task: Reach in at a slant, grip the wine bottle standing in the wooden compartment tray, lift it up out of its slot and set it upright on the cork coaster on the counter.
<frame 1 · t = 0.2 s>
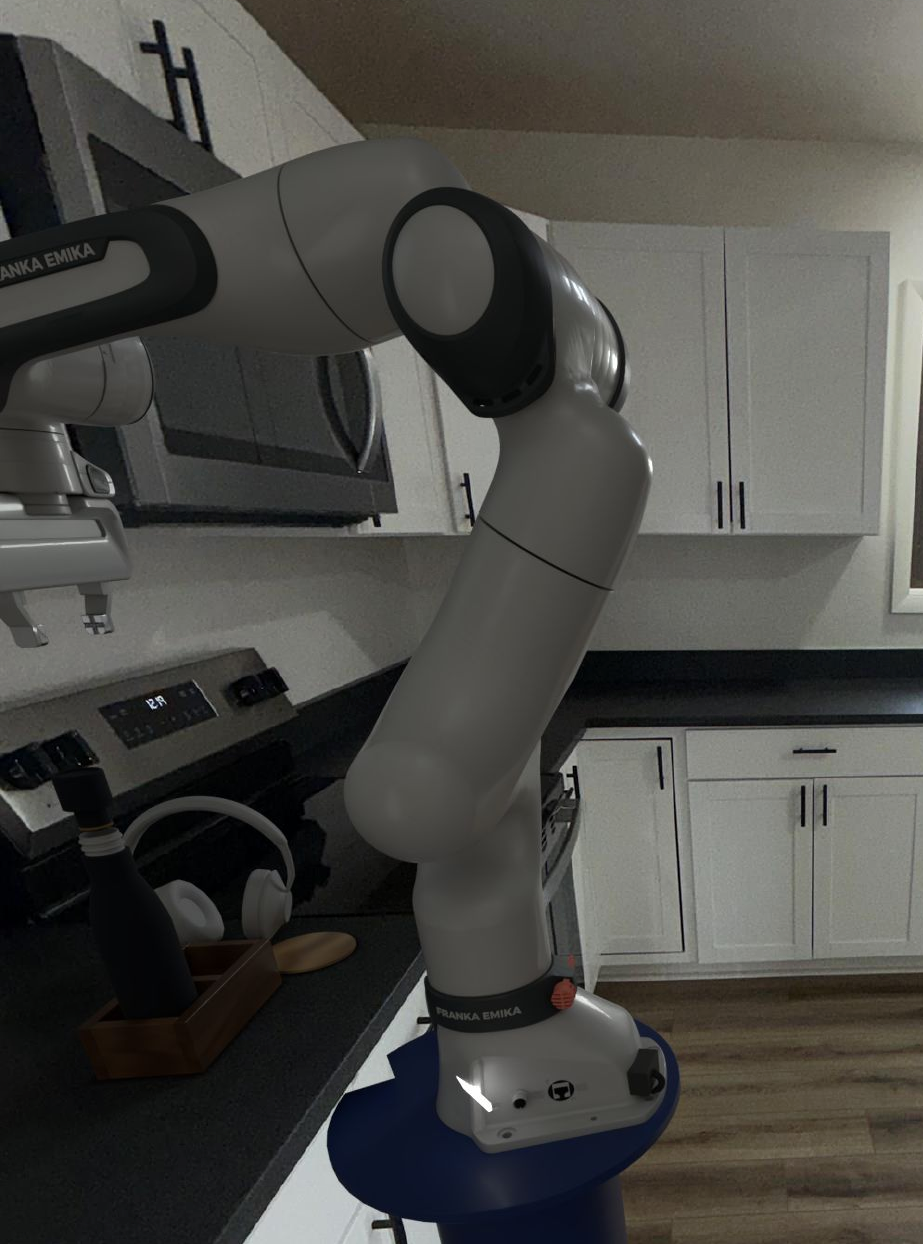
hand: (69, 640, 79), 41 cm above the counter, tool pointing down, fingers open, 8 cm apart
headphones: (233, 945, 113), on the counter
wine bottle: (177, 1050, 90), resting in wooden compartment tray
coaster: (309, 953, 110), on the counter
wooden compartment tray: (198, 1026, 94), on the counter
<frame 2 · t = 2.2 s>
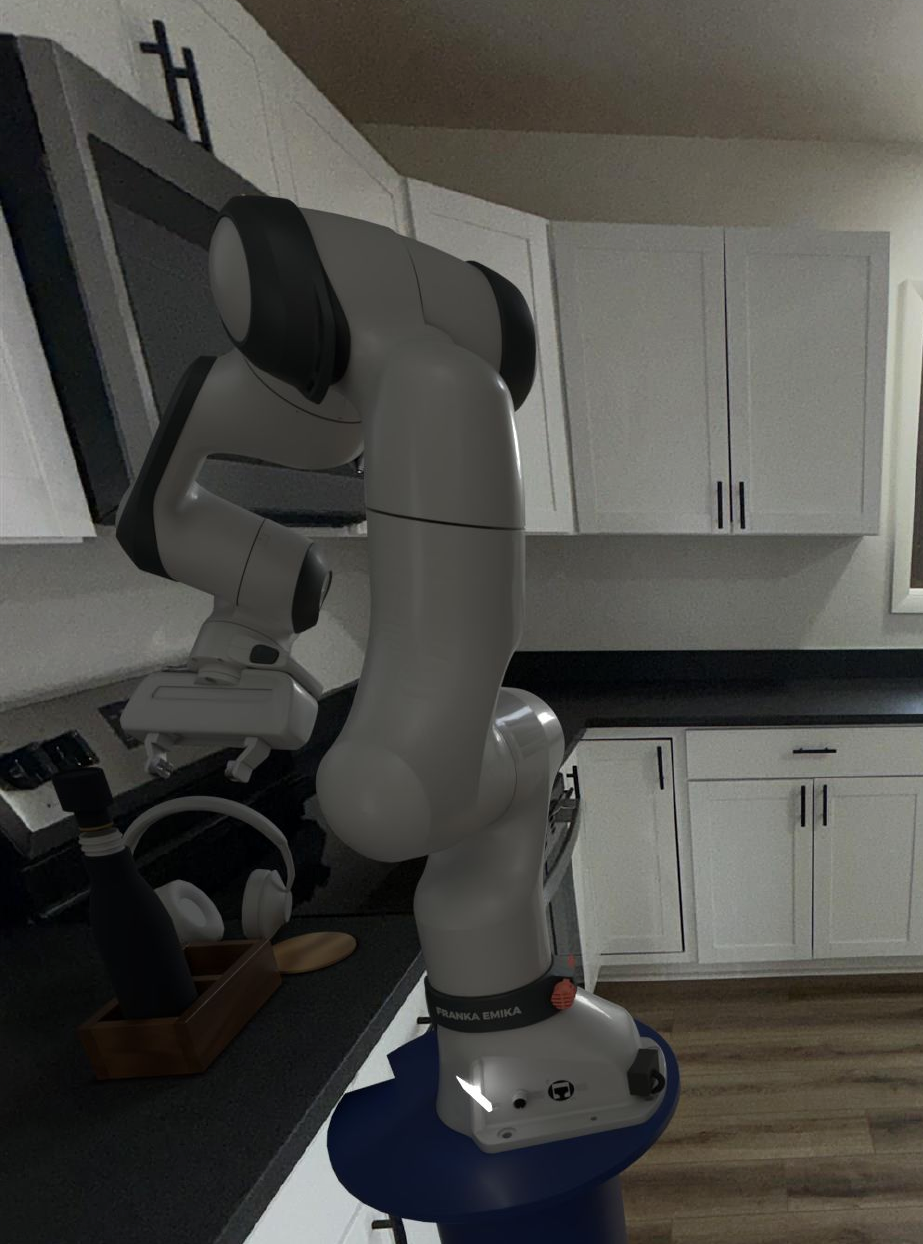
hand: (195, 777, 90), 26 cm above the counter, tool tilted 45°, fingers open, 8 cm apart
nothing on the counter moved.
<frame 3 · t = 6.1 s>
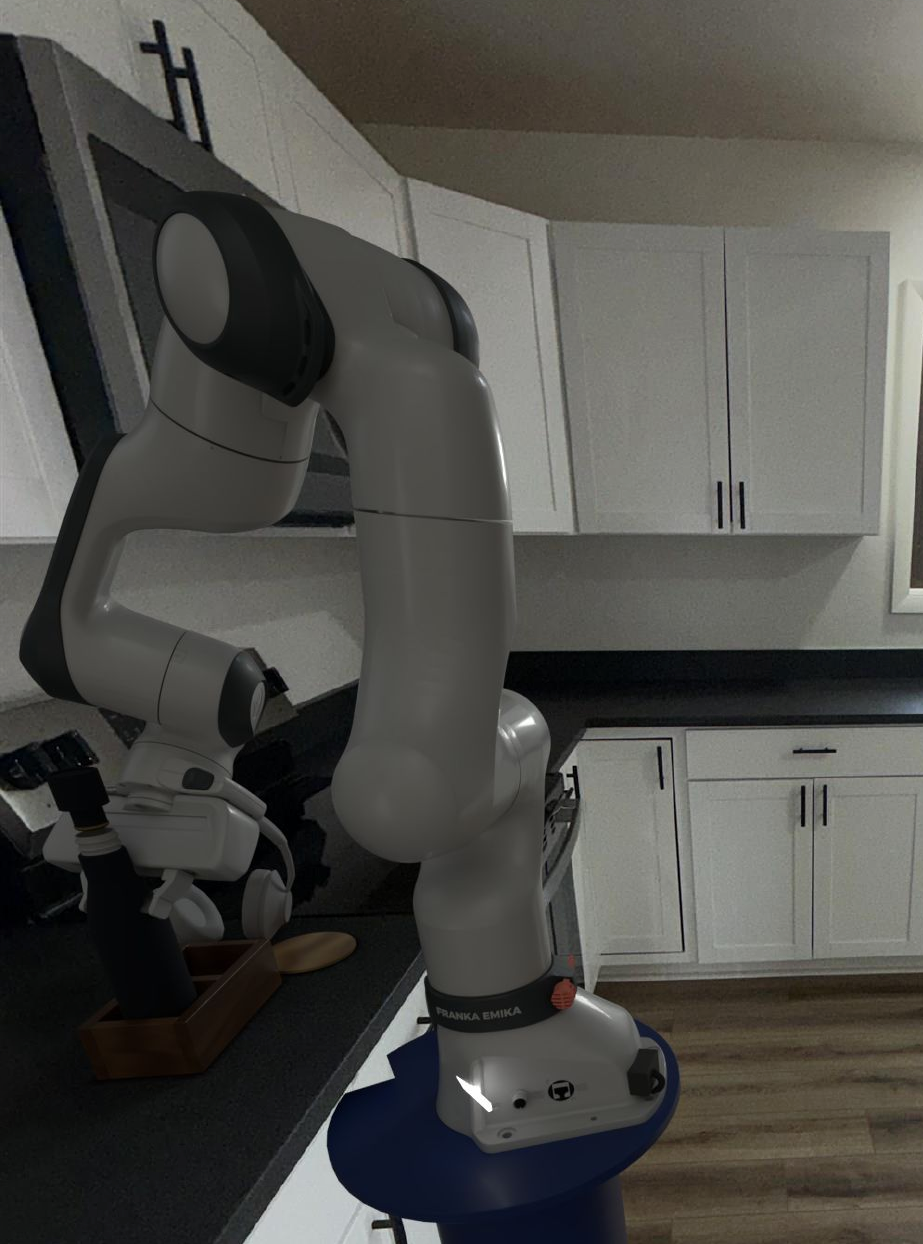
hand: (122, 915, 83), 16 cm above the counter, tool tilted 45°, fingers closed on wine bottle, 5 cm apart
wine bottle: (177, 1050, 90), resting in wooden compartment tray, touching gripper
everything else where it was.
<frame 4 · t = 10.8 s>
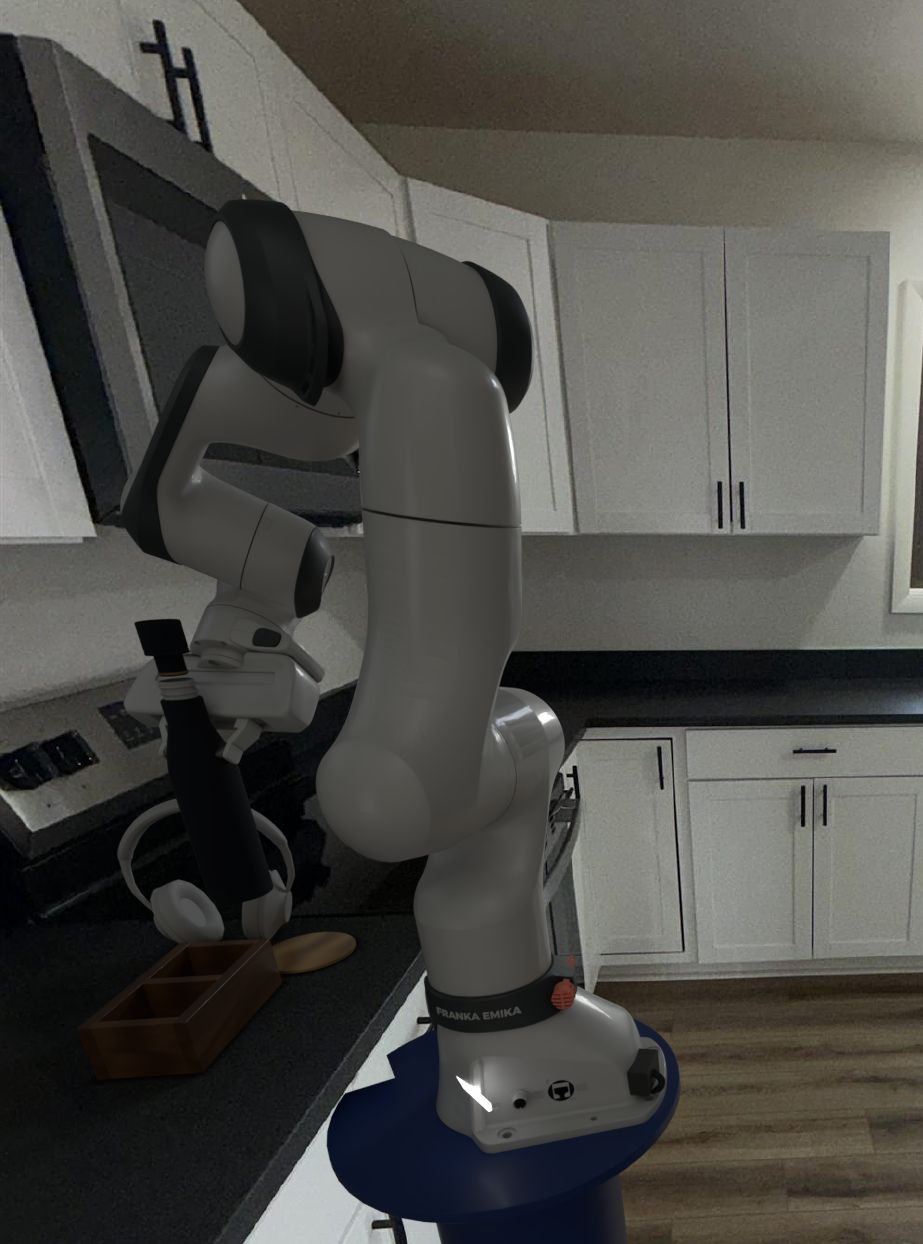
hand: (198, 759, 91), 28 cm above the counter, tool tilted 45°, fingers closed on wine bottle, 5 cm apart
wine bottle: (242, 894, 99), point 11 cm above the counter, touching gripper
everything else where it was.
when the fingers open (16 cm above the counter, at t = 15.5 s): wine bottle stays where it is, resting on coaster.
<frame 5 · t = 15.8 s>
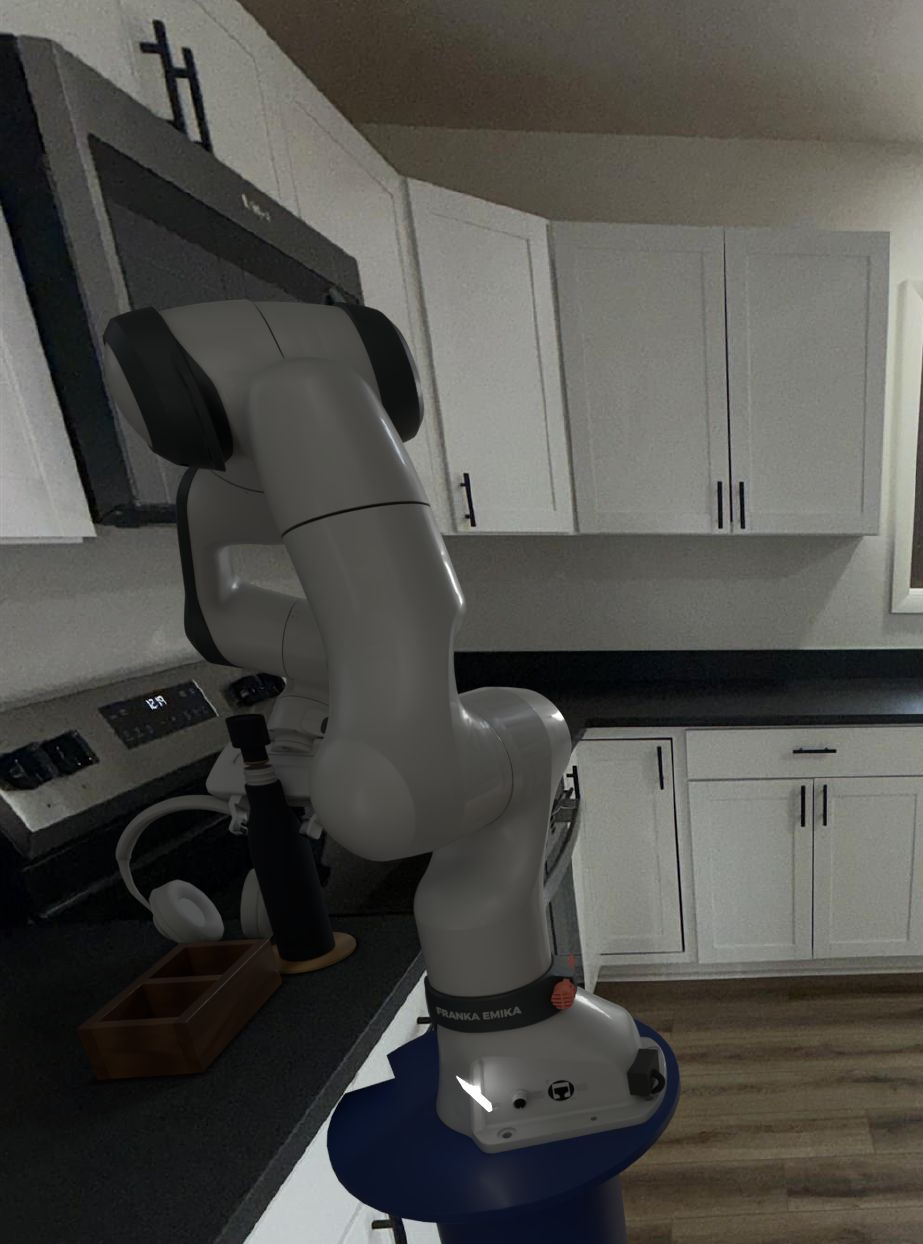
hand: (273, 835, 103), 16 cm above the counter, tool tilted 45°, fingers open, 8 cm apart
headphones: (233, 944, 112), on the counter, touching gripper
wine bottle: (308, 951, 110), resting on coaster
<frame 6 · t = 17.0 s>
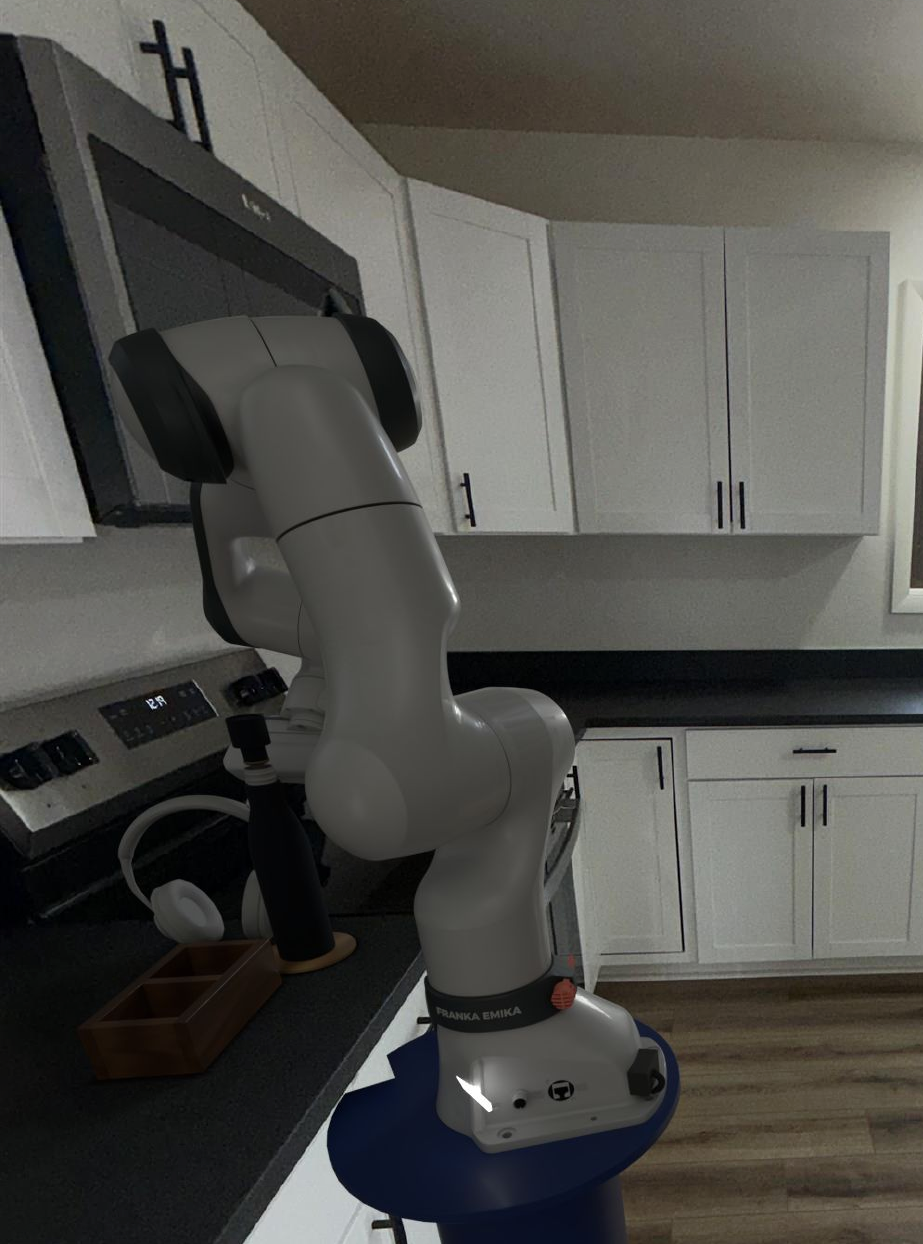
hand: (289, 811, 105), 18 cm above the counter, tool tilted 45°, fingers open, 8 cm apart
nothing on the counter moved.
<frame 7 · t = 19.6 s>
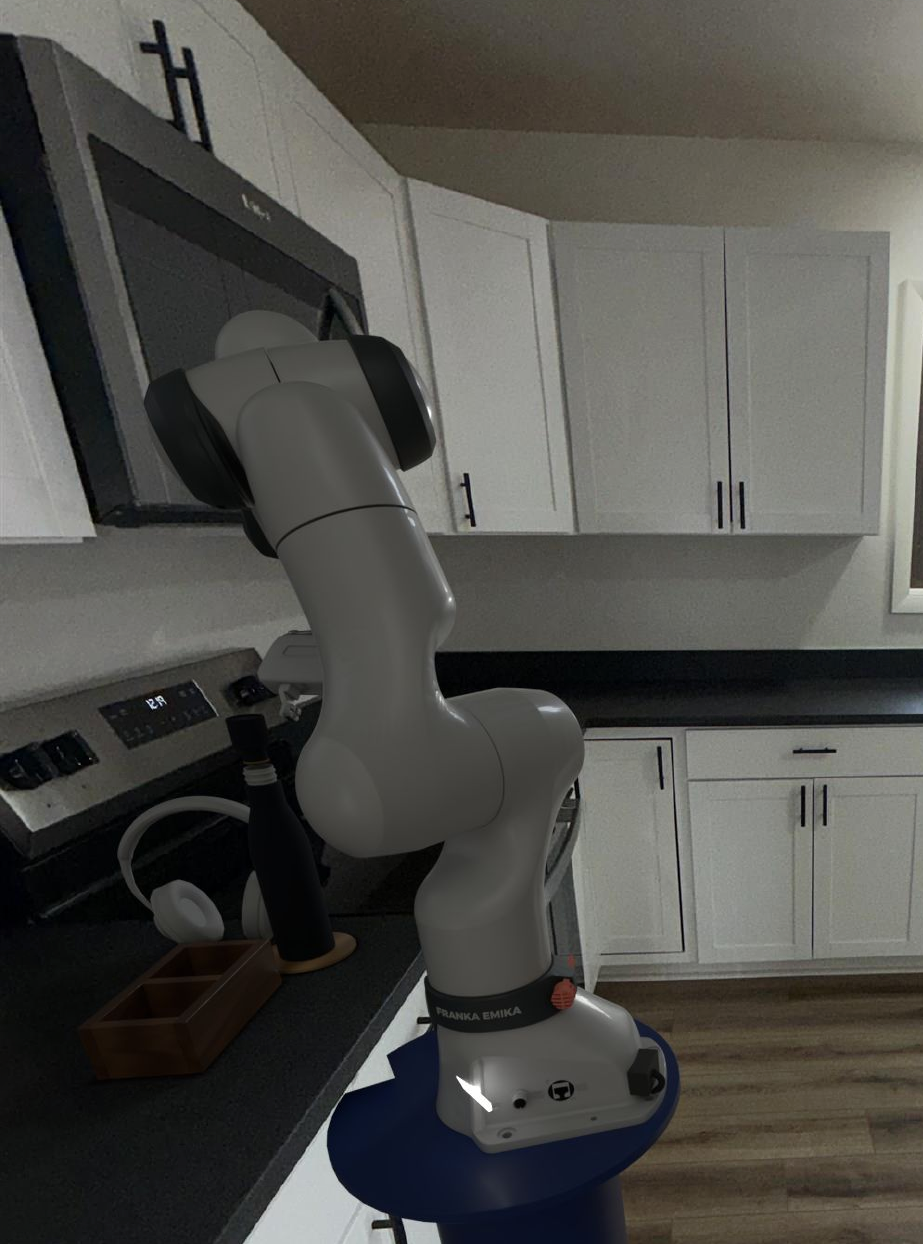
hand: (321, 719, 110), 27 cm above the counter, tool tilted 45°, fingers open, 8 cm apart
headphones: (233, 945, 113), on the counter
everything else where it was.
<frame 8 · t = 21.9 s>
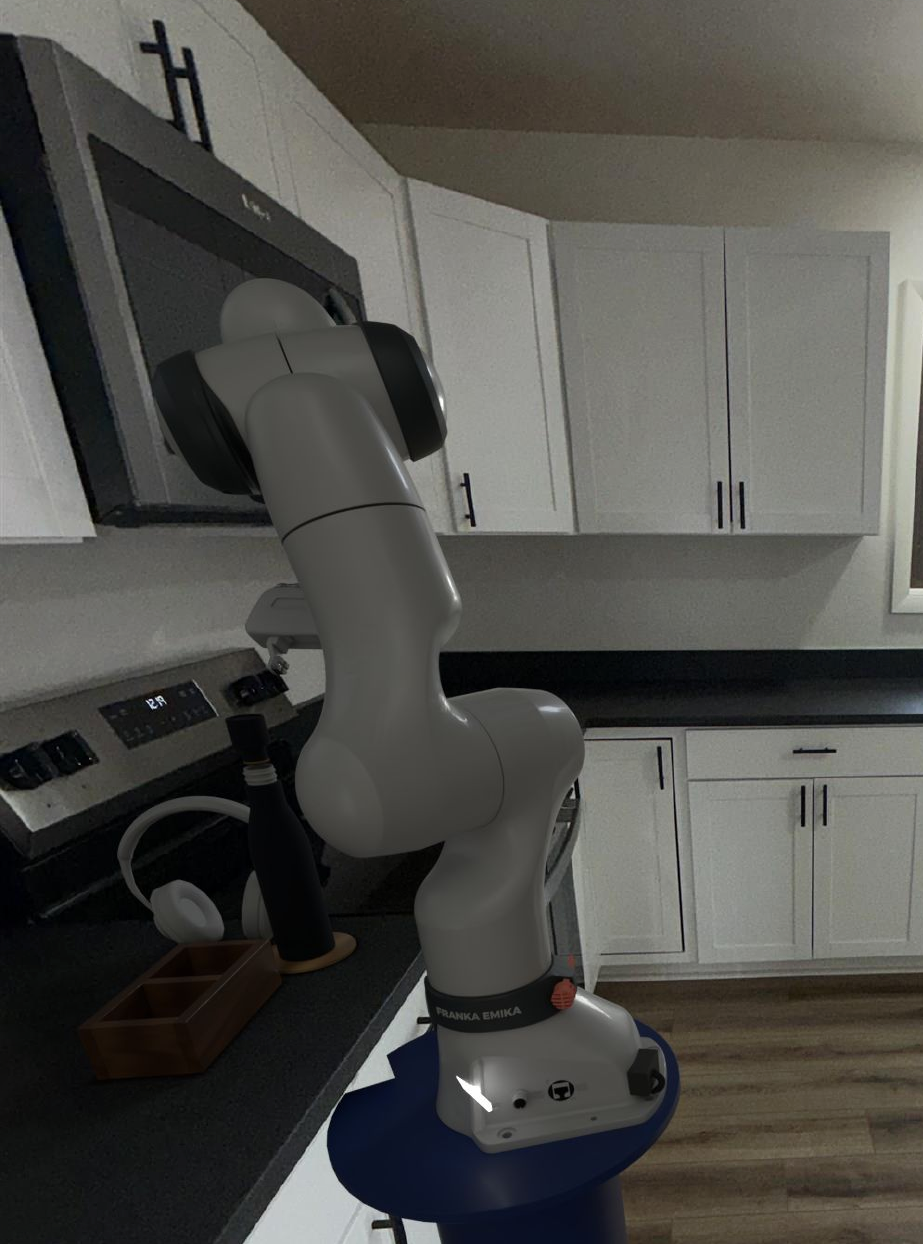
hand: (309, 672, 107), 33 cm above the counter, tool tilted 45°, fingers open, 8 cm apart
nothing on the counter moved.
at the end: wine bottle inside the target area (0.0 cm from its centre), resting on coaster; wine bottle tilted 0°; the gripper is holding nothing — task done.
